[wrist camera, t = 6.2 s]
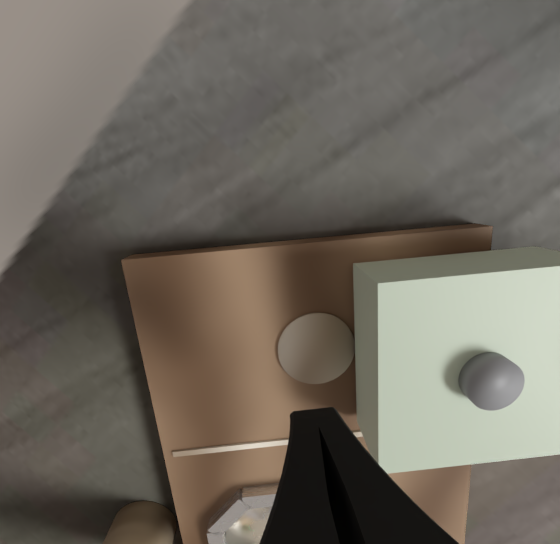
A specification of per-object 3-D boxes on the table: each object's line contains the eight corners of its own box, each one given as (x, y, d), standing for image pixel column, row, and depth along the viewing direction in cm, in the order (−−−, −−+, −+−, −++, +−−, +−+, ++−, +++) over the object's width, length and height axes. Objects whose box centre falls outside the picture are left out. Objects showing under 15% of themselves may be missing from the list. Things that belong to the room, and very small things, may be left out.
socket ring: (220, 583, 18) (218, 596, 17) (202, 491, 16) (200, 502, 16) (336, 569, 18) (338, 581, 18) (331, 476, 16) (333, 487, 16)
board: (198, 569, 19) (193, 597, 18) (132, 254, 14) (119, 260, 13) (450, 539, 20) (464, 564, 18) (474, 223, 15) (495, 226, 13)
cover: (356, 420, 15) (384, 488, 12) (352, 263, 13) (384, 288, 10) (515, 404, 15) (588, 465, 12) (534, 246, 13) (629, 265, 10)
